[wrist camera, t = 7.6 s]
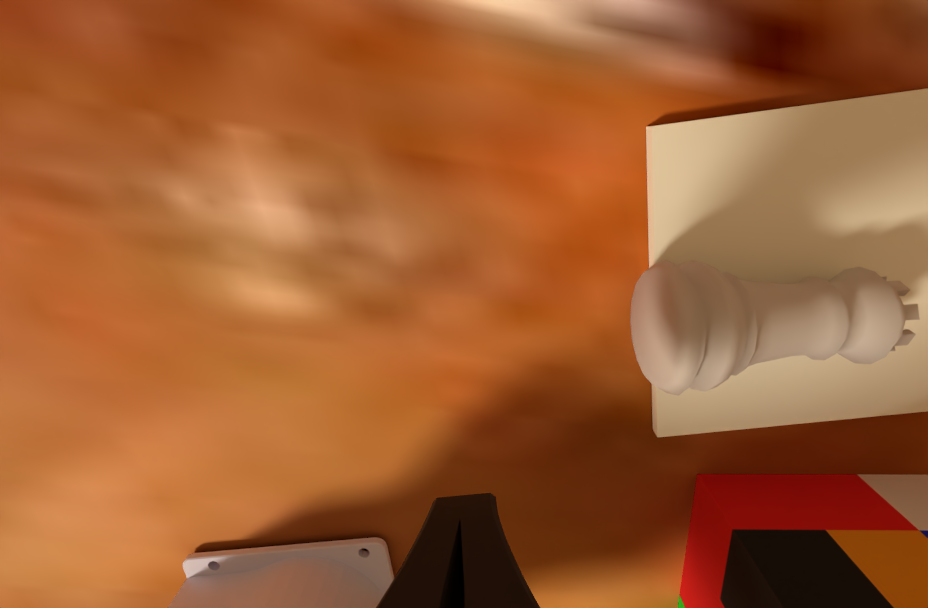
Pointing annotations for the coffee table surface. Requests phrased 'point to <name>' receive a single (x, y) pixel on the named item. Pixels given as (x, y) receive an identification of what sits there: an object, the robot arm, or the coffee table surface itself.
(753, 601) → the puzzle toy
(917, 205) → the paper sticky note
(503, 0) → the coffee table surface
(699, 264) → the rook chess piece
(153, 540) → the coffee table surface
